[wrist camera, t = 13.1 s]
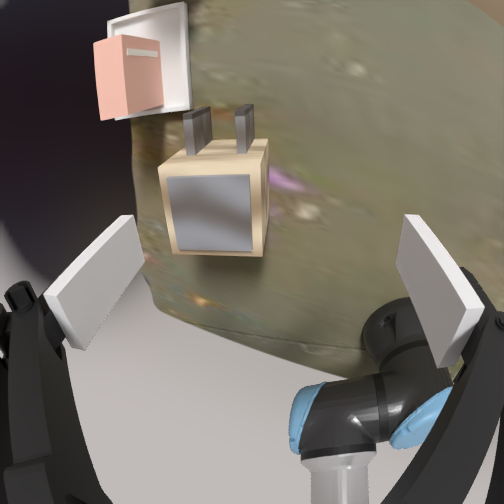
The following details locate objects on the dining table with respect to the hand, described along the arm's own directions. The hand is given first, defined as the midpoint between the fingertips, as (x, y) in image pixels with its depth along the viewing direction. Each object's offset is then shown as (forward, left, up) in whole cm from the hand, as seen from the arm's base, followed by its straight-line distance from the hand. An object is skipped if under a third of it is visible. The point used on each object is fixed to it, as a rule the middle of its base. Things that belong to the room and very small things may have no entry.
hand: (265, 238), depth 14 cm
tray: (+11, +17, -27) cm, 33 cm away
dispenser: (-3, +7, -27) cm, 28 cm away
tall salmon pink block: (+9, +17, -26) cm, 32 cm away
